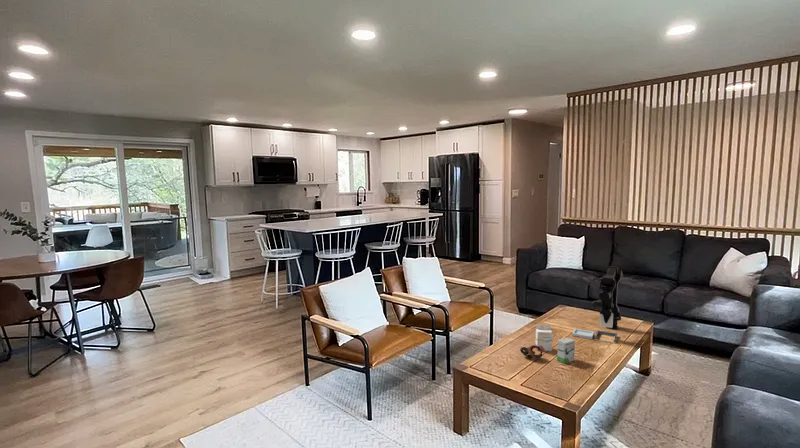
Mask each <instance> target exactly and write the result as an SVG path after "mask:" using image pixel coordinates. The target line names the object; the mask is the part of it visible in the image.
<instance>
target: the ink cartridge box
mask: <svg viewBox="0 0 800 448" xmlns="http://www.w3.org/2000/svg"><path fill="white" fill-rule="evenodd" d="M535 326H536V327H535V342H534V343H535V346H538V347H540V348H541V350H542V352H552V351H553V350H552V349H553V331H552V330H551V324H546V323H542V324H540V323H536V325H535ZM535 350H537V351H539V352H540V350H538V349H537V348H535Z"/></svg>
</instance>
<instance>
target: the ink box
mask: <svg viewBox="0 0 800 448" xmlns="http://www.w3.org/2000/svg"><path fill="white" fill-rule="evenodd" d="M575 348H576V340H575V339H572V338H570V337H565V338H559V339H558V340H557V356H556V357H557V359H556V360H557V362H560V363H562V364H567V363H571V362H574V361H575V352H576V351H575V350H576V349H575Z"/></svg>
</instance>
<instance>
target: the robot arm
mask: <svg viewBox="0 0 800 448" xmlns="http://www.w3.org/2000/svg"><path fill="white" fill-rule="evenodd" d="M622 278H623V270H622V269H620V268H619V266H618V267H617V266H614V265H613V266H612V265H611V266H608V268H607V272H606V274H605V275H603V276H602V277H601V278H600V283H599V289H600V290H601V291H600V293H599V295H598V297H599V299H598V300H597V299H596V300H593V301H591V307H592V308H593V309H595V308H599V307H600V309H599V315H600V314H602V315H603V317H604V321H605V323H607V322H608V320H609V318H610V316H611V314H612V313H613V327H612V328H609V327H606V329H611V330H618V329H619V325H618V321H622V314H621V311H620V308H619V306H618V288H619V283H620V282H621V280H622Z"/></svg>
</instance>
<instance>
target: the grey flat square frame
mask: <svg viewBox="0 0 800 448" xmlns="http://www.w3.org/2000/svg"><path fill="white" fill-rule="evenodd" d="M599 335H603V336H607V337H614V336H615V337H614V339H613V341H608V340H603V339H597V338H598V336H599ZM617 338H618V333H615V332H611V331H605V330H604V331H603V330H598V329H597V330H596V332H595V334H594V341H600V342H605V343H612V344H616V343H617Z"/></svg>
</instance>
